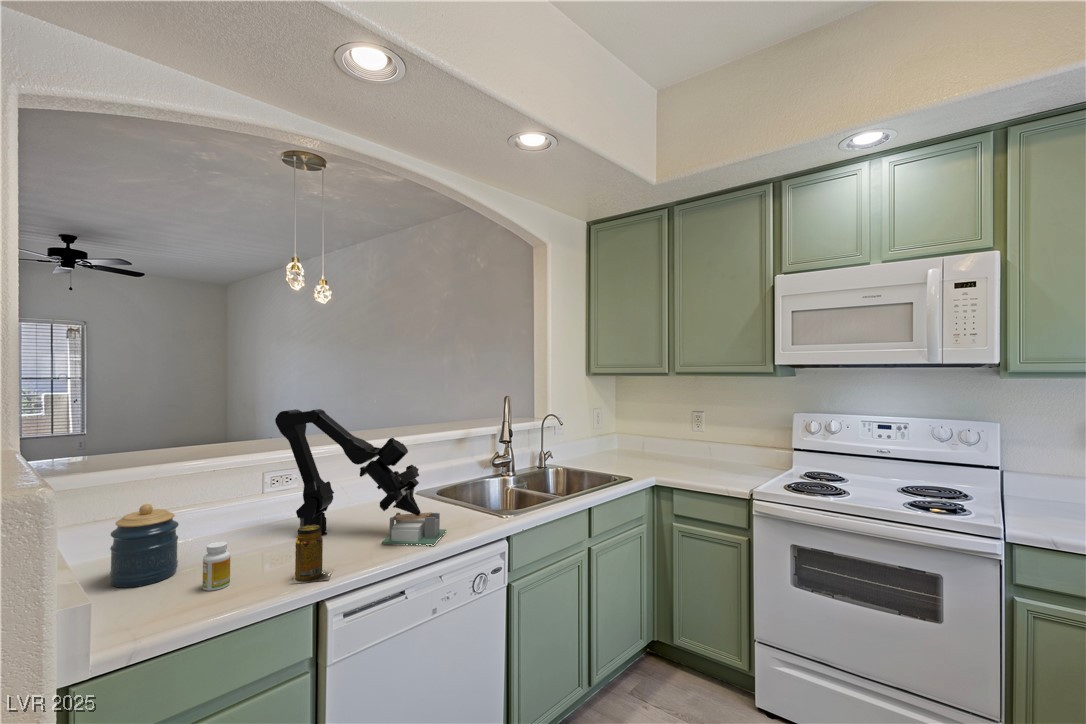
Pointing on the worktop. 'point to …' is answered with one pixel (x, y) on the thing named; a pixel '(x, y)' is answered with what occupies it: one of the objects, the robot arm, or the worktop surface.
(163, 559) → the canister
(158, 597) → the worktop surface
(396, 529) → the circuit board module
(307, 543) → the condiment
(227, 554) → the supplement bottle
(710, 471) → the worktop surface
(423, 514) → the brown thin bar
